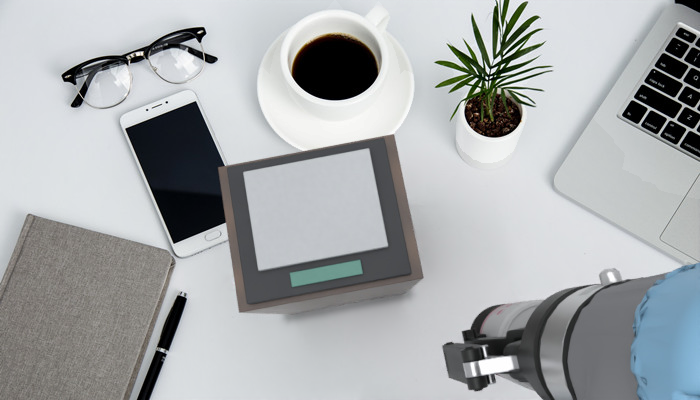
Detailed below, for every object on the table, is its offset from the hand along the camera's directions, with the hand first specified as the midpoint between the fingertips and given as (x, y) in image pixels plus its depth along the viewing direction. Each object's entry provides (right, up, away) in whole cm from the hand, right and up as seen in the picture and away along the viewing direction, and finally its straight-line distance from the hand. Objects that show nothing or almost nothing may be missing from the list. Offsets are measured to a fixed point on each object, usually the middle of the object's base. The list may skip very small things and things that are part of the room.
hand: (512, 341), depth 54 cm
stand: (-16, +5, +30) cm, 35 cm away
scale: (-17, +11, -1) cm, 20 cm away
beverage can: (0, -1, +4) cm, 4 cm away
